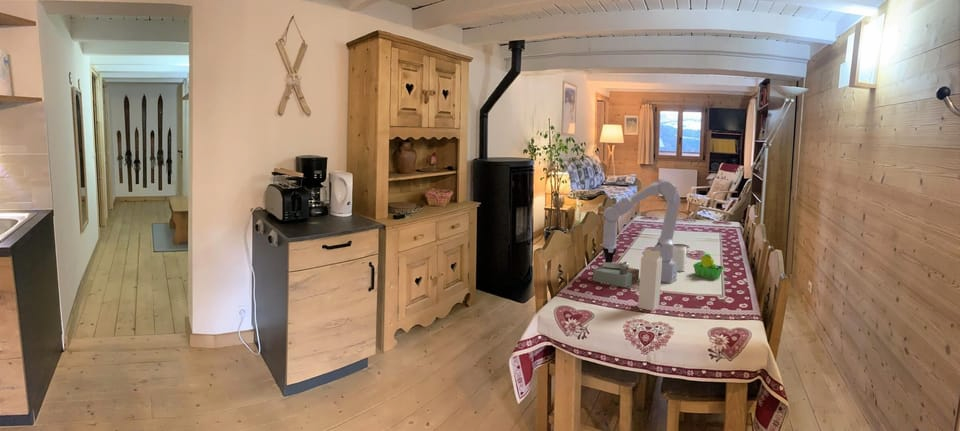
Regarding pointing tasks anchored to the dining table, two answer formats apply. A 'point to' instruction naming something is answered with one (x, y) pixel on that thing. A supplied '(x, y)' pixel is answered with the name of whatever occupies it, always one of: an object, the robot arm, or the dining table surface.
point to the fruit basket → (707, 268)
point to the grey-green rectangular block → (613, 276)
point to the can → (679, 256)
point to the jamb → (634, 272)
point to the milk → (650, 280)
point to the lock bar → (615, 264)
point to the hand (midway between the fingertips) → (608, 264)
